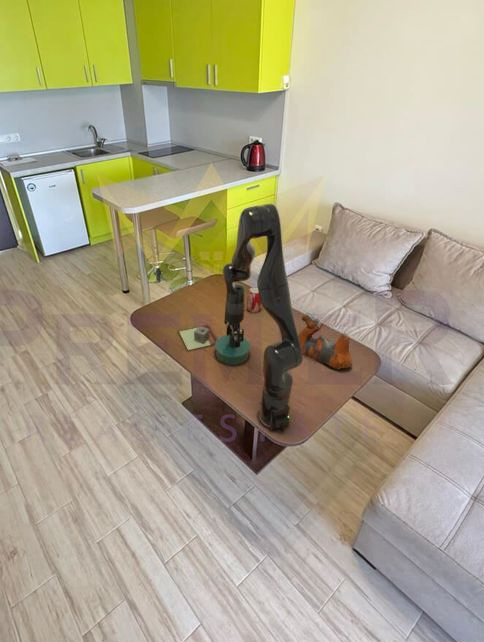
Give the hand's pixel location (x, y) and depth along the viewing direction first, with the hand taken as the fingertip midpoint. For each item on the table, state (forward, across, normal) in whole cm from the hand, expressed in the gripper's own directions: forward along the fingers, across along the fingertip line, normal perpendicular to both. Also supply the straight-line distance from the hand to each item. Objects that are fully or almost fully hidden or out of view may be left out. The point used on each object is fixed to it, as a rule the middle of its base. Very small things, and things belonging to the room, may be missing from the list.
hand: (233, 340), depth 154 cm
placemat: (+8, -16, -10) cm, 20 cm away
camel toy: (+8, +14, +36) cm, 39 cm away
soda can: (+8, -28, +24) cm, 38 cm away
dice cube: (+8, -14, -9) cm, 18 cm away
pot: (+8, 0, 0) cm, 8 cm away
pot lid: (+3, 0, 0) cm, 3 cm away
